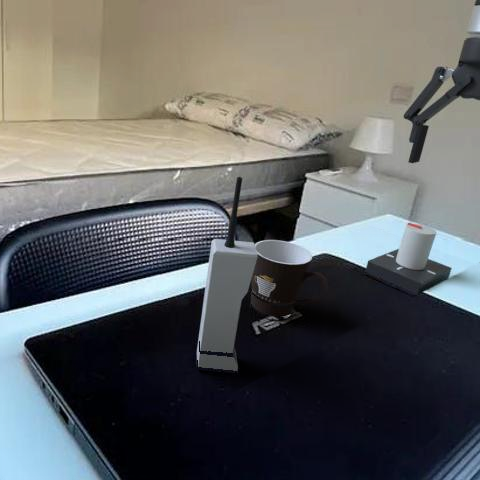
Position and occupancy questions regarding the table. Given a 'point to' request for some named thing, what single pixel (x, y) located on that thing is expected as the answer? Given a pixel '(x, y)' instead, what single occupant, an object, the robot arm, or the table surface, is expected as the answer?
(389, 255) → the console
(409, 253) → the timer knob
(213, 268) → the vintage mobile phone
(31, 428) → the table surface
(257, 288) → the coffee mug
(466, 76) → the robot arm
